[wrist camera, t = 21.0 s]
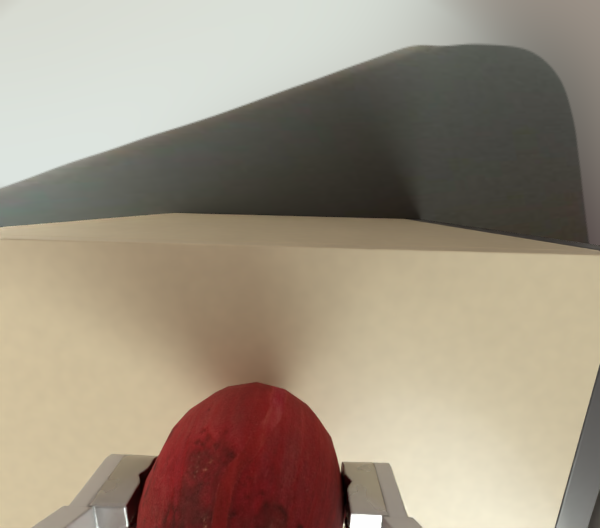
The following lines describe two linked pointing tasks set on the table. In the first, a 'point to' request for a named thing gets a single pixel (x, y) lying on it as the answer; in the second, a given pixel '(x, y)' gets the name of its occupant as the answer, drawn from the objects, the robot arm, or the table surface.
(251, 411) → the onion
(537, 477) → the oven
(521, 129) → the table surface
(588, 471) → the oven door
